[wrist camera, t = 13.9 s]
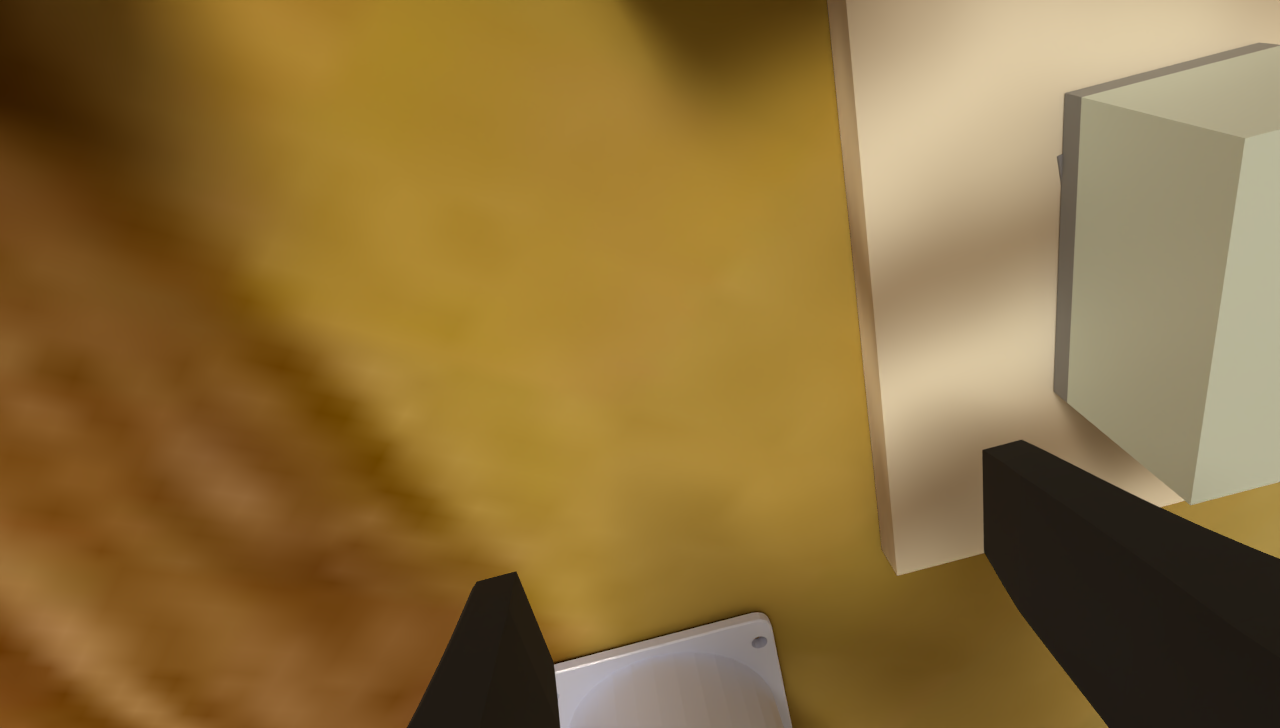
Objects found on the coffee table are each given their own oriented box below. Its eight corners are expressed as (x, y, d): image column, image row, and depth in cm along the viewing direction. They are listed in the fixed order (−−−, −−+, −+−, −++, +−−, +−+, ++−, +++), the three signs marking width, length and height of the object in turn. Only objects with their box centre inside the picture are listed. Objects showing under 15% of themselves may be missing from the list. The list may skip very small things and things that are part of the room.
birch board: (1305, 438, 25) (1341, 461, 24) (881, 549, 25) (898, 577, 24) (1463, -253, 16) (1531, -269, 15) (818, -86, 16) (839, -89, 15)
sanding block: (1213, 350, 21) (1391, 452, 17) (1053, 391, 21) (1191, 505, 17) (1259, 42, 17) (1505, 70, 13) (1065, 92, 17) (1245, 138, 13)
